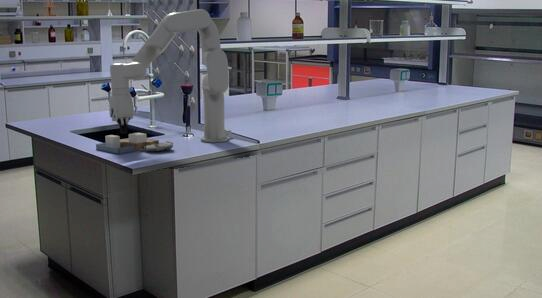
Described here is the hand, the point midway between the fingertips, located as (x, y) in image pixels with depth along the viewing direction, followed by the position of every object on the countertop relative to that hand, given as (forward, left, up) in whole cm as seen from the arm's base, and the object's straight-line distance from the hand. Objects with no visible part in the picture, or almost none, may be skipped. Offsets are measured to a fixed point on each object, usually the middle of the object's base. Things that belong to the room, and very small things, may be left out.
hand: (123, 133), depth 261 cm
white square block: (-2, +7, -3) cm, 8 cm away
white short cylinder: (+4, 0, -3) cm, 5 cm away
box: (+7, +3, -6) cm, 10 cm away
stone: (-7, +22, -7) cm, 24 cm away
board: (-4, +3, -6) cm, 8 cm away
